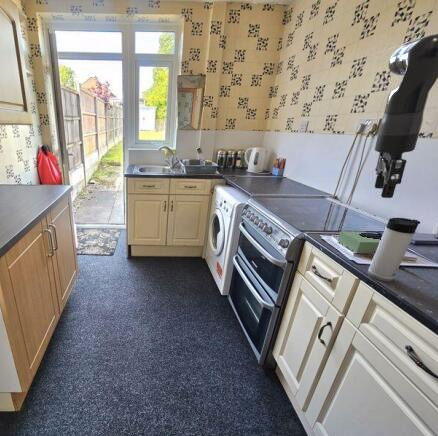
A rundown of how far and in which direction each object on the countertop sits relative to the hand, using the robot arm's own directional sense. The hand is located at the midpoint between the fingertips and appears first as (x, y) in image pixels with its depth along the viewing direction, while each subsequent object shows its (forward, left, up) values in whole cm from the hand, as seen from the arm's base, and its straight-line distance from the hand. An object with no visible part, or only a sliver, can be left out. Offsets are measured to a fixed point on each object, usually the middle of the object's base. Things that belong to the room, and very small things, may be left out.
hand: (382, 192), depth 69 cm
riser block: (-19, -21, -28) cm, 40 cm away
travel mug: (-10, -1, -28) cm, 30 cm away
